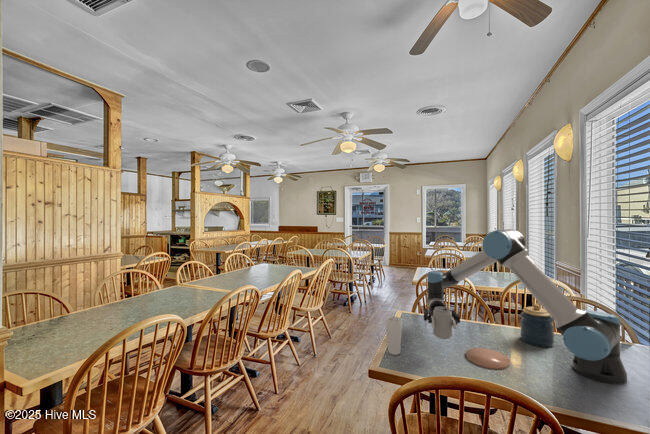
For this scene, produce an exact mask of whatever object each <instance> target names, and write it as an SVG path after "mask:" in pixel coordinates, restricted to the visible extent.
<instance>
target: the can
mask: <svg viewBox="0 0 650 434" xmlns="http://www.w3.org/2000/svg"><path fill="white" fill-rule="evenodd" d="M451 311H452V310H451V308H449V307H447V306H446V307H442V306H438V307H435V310H433V318H434V327H435V328H433V327H432V328H433V329H432V330H433V332H432V333H433V335H434V336H435V337H436V338H438V339H441V340H449V339H451V338H452V337H453V326H452V312H451Z"/></svg>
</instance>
